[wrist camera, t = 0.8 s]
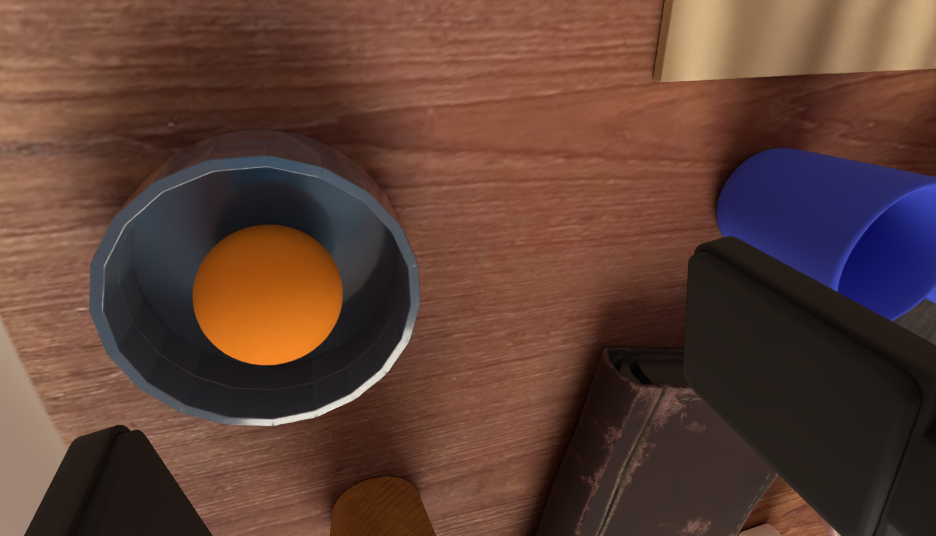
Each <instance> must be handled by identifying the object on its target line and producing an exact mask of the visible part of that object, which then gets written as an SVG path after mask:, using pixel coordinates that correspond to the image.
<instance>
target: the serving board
mask: <svg viewBox="0 0 936 536" xmlns="http://www.w3.org/2000/svg"><path fill="white" fill-rule="evenodd" d="M916 69H936V0H665V3H664V9H663V16H662V22H661V29H660V36H659V42H658V49H657V56H656V62H655V69H654V76H653V80H654V81H658V82H674V81H694V80H714V79H734V78H755V77H775V76H795V75H815V74H835V73H855V72H875V71H895V70H916Z"/></svg>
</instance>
